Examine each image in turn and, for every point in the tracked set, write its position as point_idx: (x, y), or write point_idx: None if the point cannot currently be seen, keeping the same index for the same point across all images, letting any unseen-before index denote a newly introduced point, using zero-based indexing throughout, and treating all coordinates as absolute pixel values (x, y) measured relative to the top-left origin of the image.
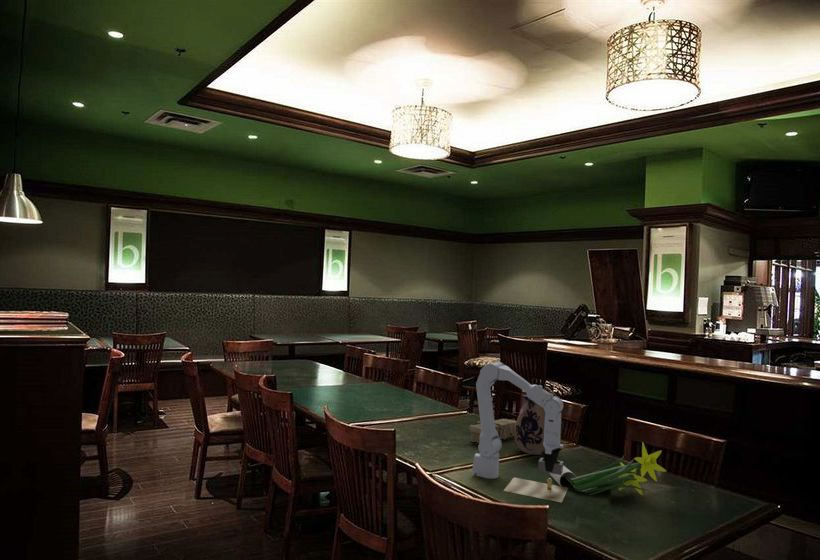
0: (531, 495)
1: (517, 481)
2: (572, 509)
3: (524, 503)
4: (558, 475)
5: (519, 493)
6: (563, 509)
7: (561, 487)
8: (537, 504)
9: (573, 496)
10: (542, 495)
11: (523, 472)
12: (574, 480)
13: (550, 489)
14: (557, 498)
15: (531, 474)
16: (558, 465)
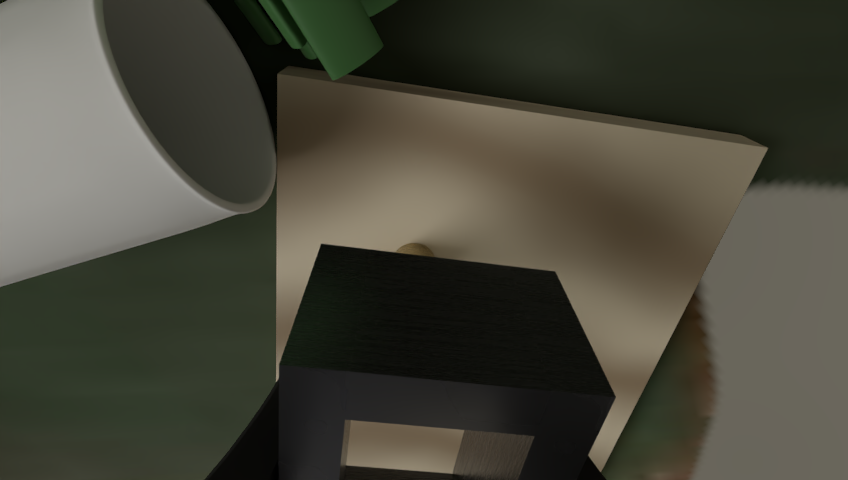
0: (632, 374)
1: (355, 463)
2: (792, 27)
3: (696, 381)
4: (182, 231)
5: (608, 438)
6: (796, 117)
7: (309, 151)
8: (702, 310)
9: (400, 5)
10: (611, 306)
11: (24, 424)
12: (361, 13)
13: (432, 252)
14: (660, 188)
15: (20, 376)
16: (586, 423)
